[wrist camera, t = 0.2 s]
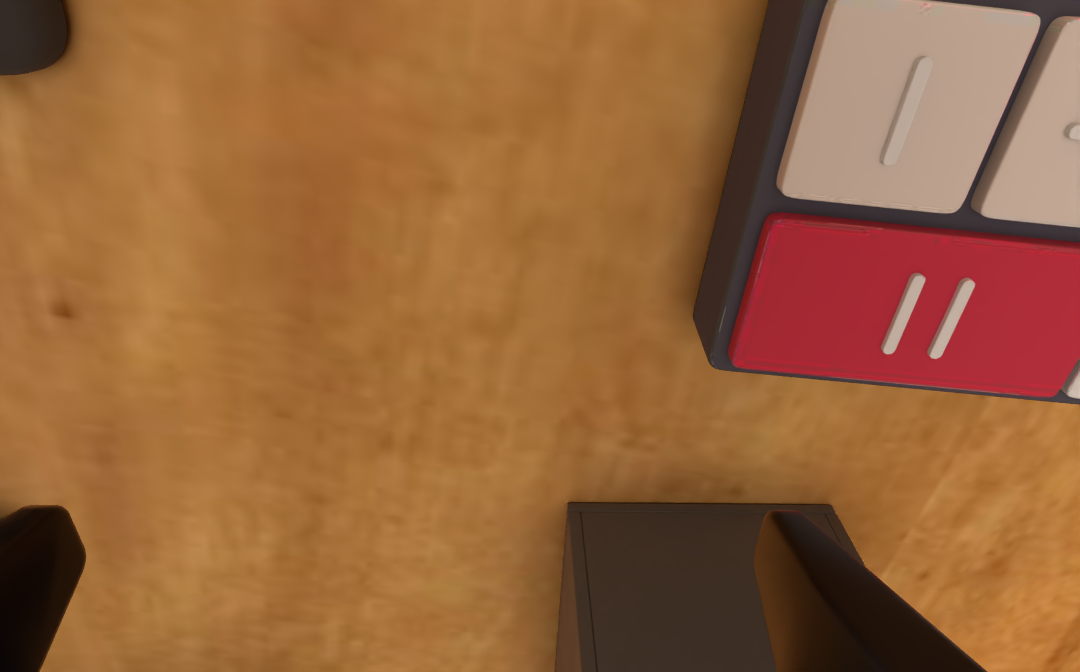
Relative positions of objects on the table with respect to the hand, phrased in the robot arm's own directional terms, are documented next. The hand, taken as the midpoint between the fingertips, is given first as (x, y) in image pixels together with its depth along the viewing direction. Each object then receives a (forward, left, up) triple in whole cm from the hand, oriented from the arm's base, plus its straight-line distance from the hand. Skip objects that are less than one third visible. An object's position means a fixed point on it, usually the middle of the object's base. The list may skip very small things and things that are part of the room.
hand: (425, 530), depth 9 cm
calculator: (+1, -15, -14) cm, 20 cm away
